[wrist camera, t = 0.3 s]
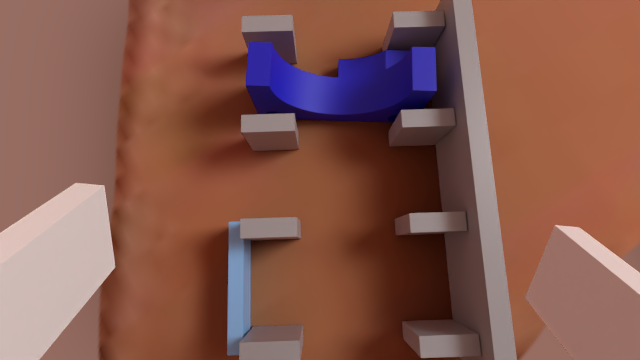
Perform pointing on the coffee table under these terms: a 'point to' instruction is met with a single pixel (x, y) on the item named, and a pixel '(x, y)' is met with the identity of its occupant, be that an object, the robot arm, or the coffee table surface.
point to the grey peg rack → (454, 221)
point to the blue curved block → (342, 85)
